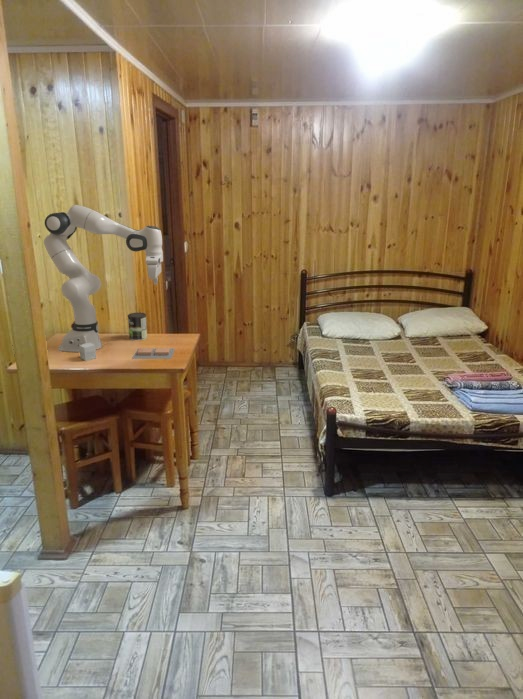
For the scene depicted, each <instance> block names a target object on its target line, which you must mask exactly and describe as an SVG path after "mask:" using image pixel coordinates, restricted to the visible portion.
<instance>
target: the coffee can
mask: <svg viewBox="0 0 523 699" xmlns="http://www.w3.org/2000/svg"><path fill="white" fill-rule="evenodd" d="M127 320H128V322H127V323H128V335H129V340H132V341H144V340H147V339H148V328H147V314H146V313H145V312H131V313H128V314H127ZM146 338H147V339H146Z"/></svg>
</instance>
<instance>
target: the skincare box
mask: <svg viewBox="0 0 523 699" xmlns="http://www.w3.org/2000/svg"><path fill="white" fill-rule="evenodd" d="M79 350H80V352H79V357H80V359H81V360H83V361H85V362H86V361H87V362H88V361H92V360H95V359H97V352H96V350H97V349H96V350H95V345H93V344H91V343H85V344H81V345H79Z"/></svg>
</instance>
